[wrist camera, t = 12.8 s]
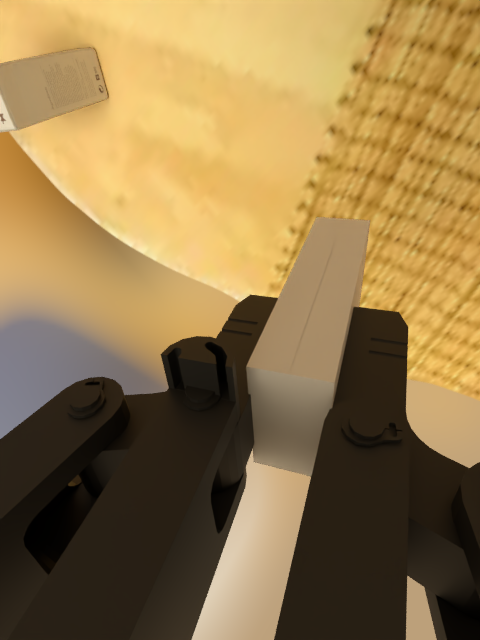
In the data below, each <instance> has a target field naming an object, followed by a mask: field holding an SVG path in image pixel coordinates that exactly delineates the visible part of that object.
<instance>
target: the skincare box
mask: <svg viewBox="0 0 480 640" xmlns="http://www.w3.org/2000/svg"><path fill="white" fill-rule="evenodd" d="M107 98H108V95H107V91H106V87H105V83H104V79H103V76H102V72H101V68H100V65H99V61H98V58H97V55H96V51H95V50H94V49H93V48H82V49H73V50H67V51H61V52H56V53H50V54H45V55H40V56H34V57H29V58H24V59H19V60H14V61H9V62H5V63H0V132H7V131H15V130H20V129H23V128H26V127H29V126H32V125H34V124H37V123H40V122H43V121H45V120H48V119H51V118H54V117H56V116H59V115H62V114H65V113H68V112H71V111H74V110H77V109H80V108H83V107H85V106H88V105H91V104H94V103H97V102H100V101H103V100H105V99H107Z"/></svg>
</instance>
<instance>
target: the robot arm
mask: <svg viewBox="0 0 480 640" xmlns="http://www.w3.org/2000/svg"><path fill="white" fill-rule="evenodd" d="M369 225H370V220H356V219H341V218H325V217H316V219H315V222H314V224H313V226H312V228H311V230H310V232H309V234H308V236H307V239H306V241H305V243H304V245H303V247H302V249H301V251H300V253H299V256H298V258H297V260H296V262H295V264H294V266H293V268H292V270H291V272H290V275H289V277H288V279H287V281H286V283H285V285H284V287H283V289H282V292H281V294H280V296H279V298H272V297H264V296H257V295H250V296H248V297H247V298H245V299H244V300H242V301H241V302H240V303H238V304H237V305H236V306H235V308H234V309H233V311H232V313H231V314H230V316H229V318H228V321H226V323H225V324H224V326H223V328H222V331H221V332H220V333H219V334H218V336H217V338H212V337H201V336H200V337H199V336H196V337H191V338H187V339H182V340H180V341H178V342H176V343H174V344H172V345H170V346H169V347H168V348H167V349H166V350H165V351H164V352H163V353H162V354H161V357H162V361H163V365H164V370H165V373H166V378H167V382H168V386H169V389H168V390H167V391H166V392H160V393H153V394H137V395H124V393H123V390H122V387H121V386H120V385H119V384H118V383H117V382H116V381H115V380H113V379H109V378H105V377H95V378H88V379H84V380H82V381H79V382H76V383H74V384H72V385H71V386H69V387H67V388H66V389H64V390H63V391H61V392H60V393H59V394H58V395H56V396H55V397H54V398H53V399H51V400H50V401H49V402H47V403H46V404H45V405H44V406H42V407H41V408H40V409H38V410H37V411H36V412H35V413H33V414H32V415H31V416H30V417H28V418H27V419H26V420H24V421H23V422H22V423H21V424H19V425H18V426H17V427H15V428H14V429H13V430H12V431H10V432H9V433H8V434H7V435H5V436H4V437H3V438H1V439H0V640H191V639H192V636H193V633H194V631H195V628H196V625H197V622H198V619H199V616H200V614H201V610H202V608H203V605H204V602H205V599H206V597H207V594H208V591H209V588H210V585H211V582H212V580H213V576H214V574H215V571H216V568H217V565H218V563H219V560H220V557H221V554H222V551H223V548H224V546H225V543H226V540H227V537H228V534H229V531H230V528H231V526H232V523H233V520H234V517H235V514H236V512H237V509H238V506H239V503H240V500H241V497H242V495H243V492H244V489H245V485H246V476H247V475H246V464H247V461H248V459H249V456H250V454H251V451H252V448H253V458H254V462H257V463H260V464H264V465H268V466H272V467H276V468H280V469H284V470H288V471H292V472H296V473H299V474H304V475H307V476H311V480H310V485H309V489H308V494H307V498H306V502H305V507H304V511H303V516H302V520H301V525H300V529H299V533H298V537H297V542H296V547H295V551H294V555H293V559H292V564H291V568H290V572H289V577H288V581H287V586H286V590H285V594H284V599H283V604H282V607H281V612H280V616H279V621H278V625H277V629H276V635H275V639H274V640H406V601H407V576H409V577H410V578H412V579H413V580H415V581H416V582H418V583H420V584H421V585H422V586H424V587H425V591H426V596H427V599H428V604H429V608H430V613H431V617H432V621H433V625H434V629H435V634H436V638H437V640H480V462H479V463H477V464H475V465H474V466H472V467H471V468H468V467H465V466H463V465H461V464H459V463H457V462H455V461H453V460H451V459H449V458H447V457H445V456H443V455H441V454H439V453H438V452H436V451H434V450H433V449H431V448H429V447H428V446H427V445H426V444H425V443H424V442H422V441H421V440H420V439H419V438H418V437H417V436H416V434H415V433H414V432H413V430H412V429H411V427H410V425H409V423H408V420H407V416H406V383H407V350H408V346H407V344H408V326H407V324H406V323H405V321H404V320H403V318H402V317H401V315H400V313H399V312H393V311H385V310H377V309H370V308H362V307H359V304H360V297H361V289H362V281H363V273H364V265H365V257H366V249H367V241H368V233H369Z"/></svg>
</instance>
